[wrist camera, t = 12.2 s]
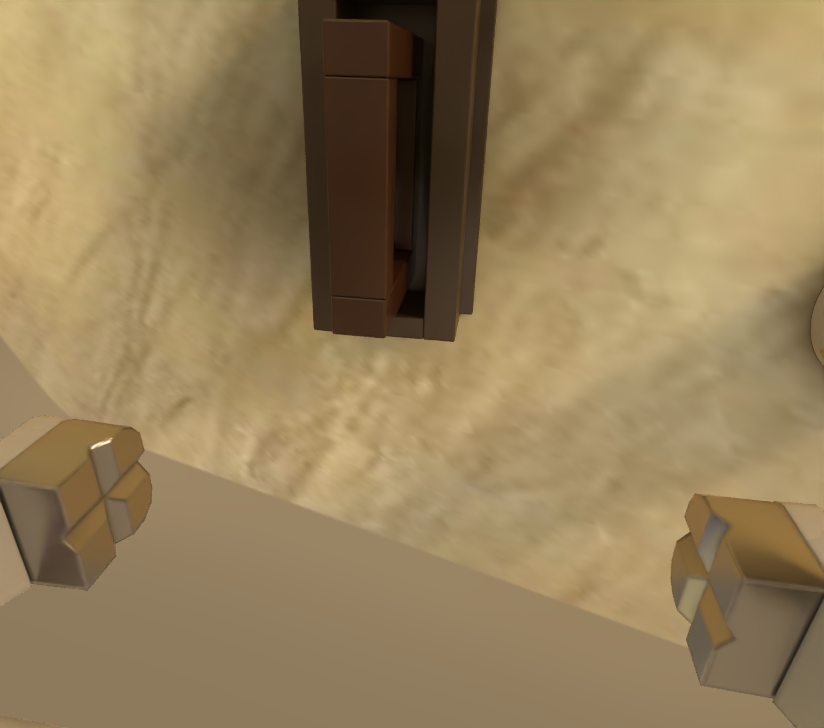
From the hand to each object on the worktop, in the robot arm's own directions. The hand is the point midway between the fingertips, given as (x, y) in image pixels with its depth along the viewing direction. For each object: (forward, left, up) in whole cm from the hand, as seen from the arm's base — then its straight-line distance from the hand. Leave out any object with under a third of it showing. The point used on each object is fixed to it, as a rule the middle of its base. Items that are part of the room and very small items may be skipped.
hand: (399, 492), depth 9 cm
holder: (0, -4, -21) cm, 21 cm away
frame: (0, -4, -20) cm, 21 cm away
